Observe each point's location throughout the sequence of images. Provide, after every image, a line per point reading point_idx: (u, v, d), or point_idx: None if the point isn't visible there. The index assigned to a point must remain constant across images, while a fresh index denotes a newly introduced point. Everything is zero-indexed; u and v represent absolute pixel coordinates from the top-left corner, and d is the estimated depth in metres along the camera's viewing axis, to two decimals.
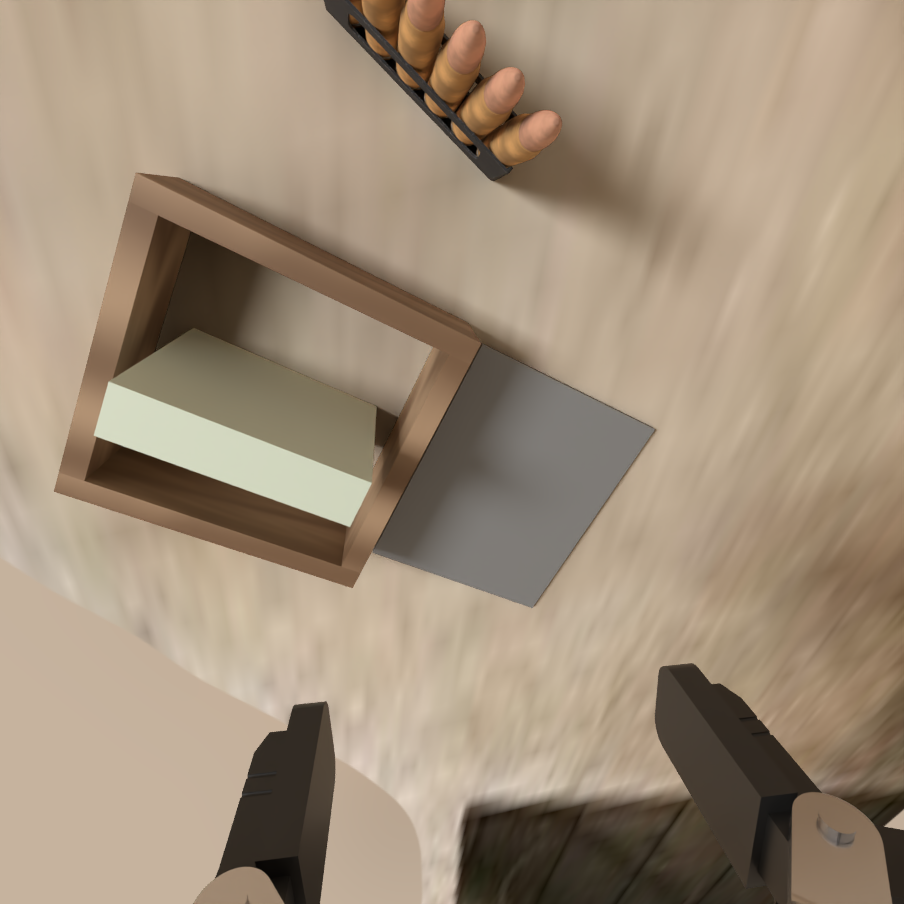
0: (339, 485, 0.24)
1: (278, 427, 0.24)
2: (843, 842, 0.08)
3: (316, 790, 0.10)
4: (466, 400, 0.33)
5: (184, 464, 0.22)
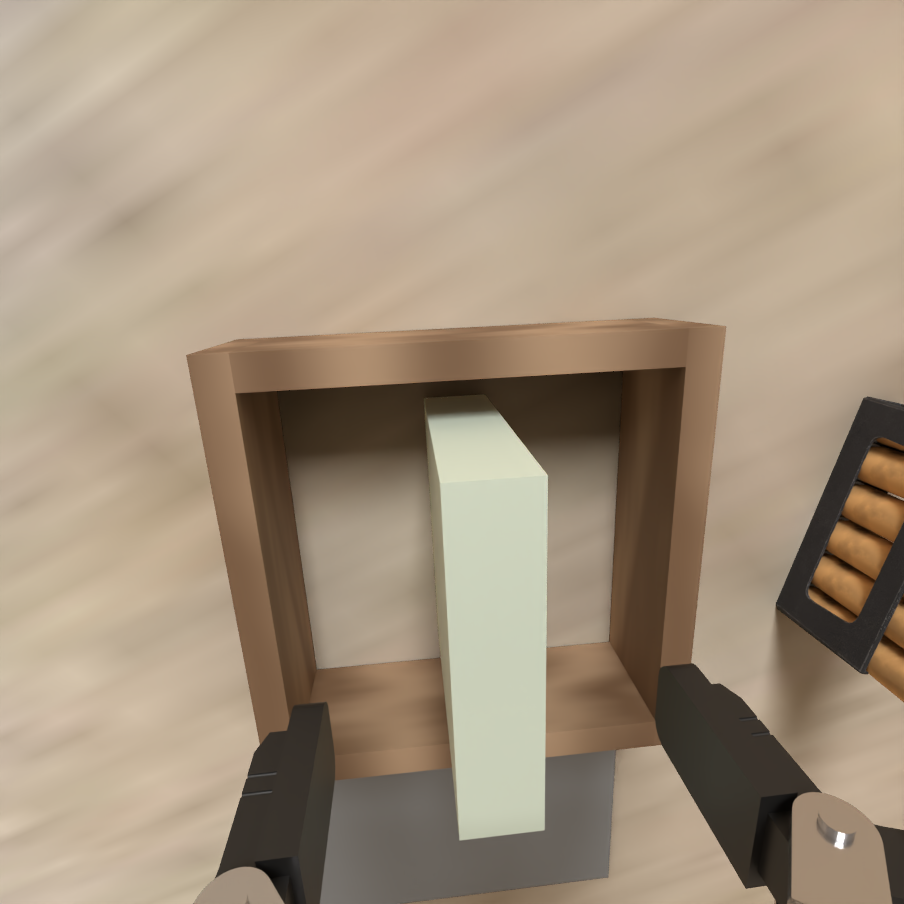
0: (521, 800, 0.15)
1: None
2: (843, 842, 0.08)
3: (316, 790, 0.10)
4: None
5: (454, 616, 0.13)
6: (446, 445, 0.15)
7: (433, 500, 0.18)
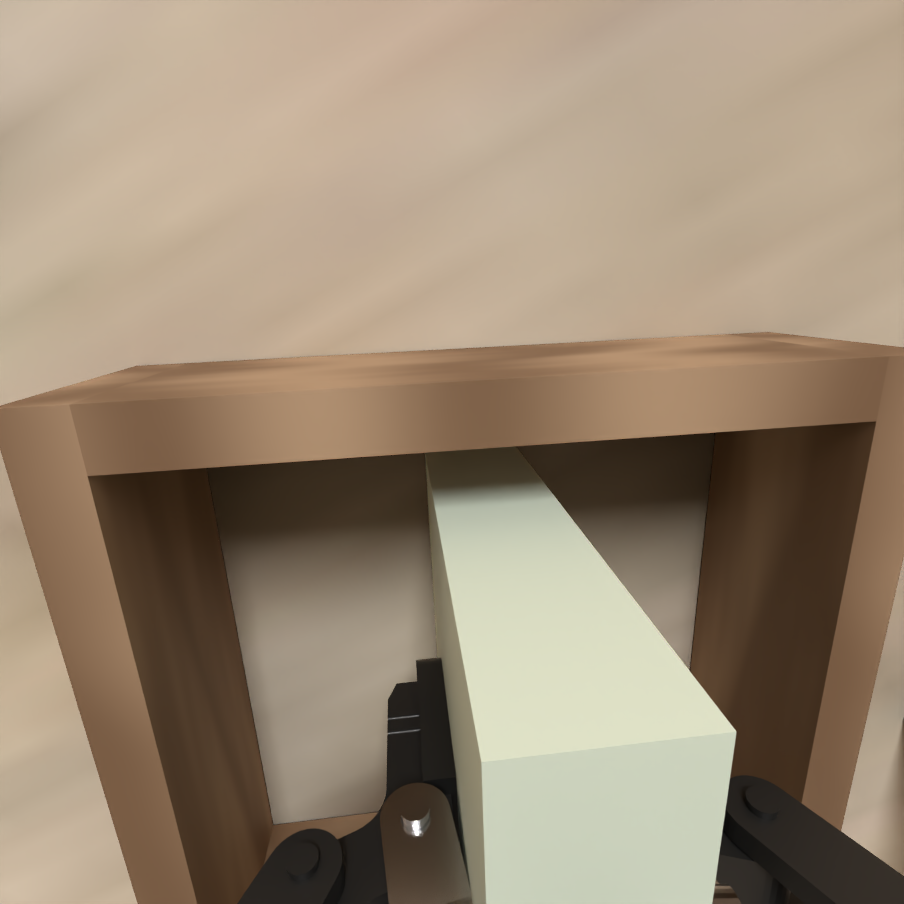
0: None
1: None
2: None
3: None
4: None
5: None
6: (475, 586, 0.08)
7: (444, 641, 0.11)
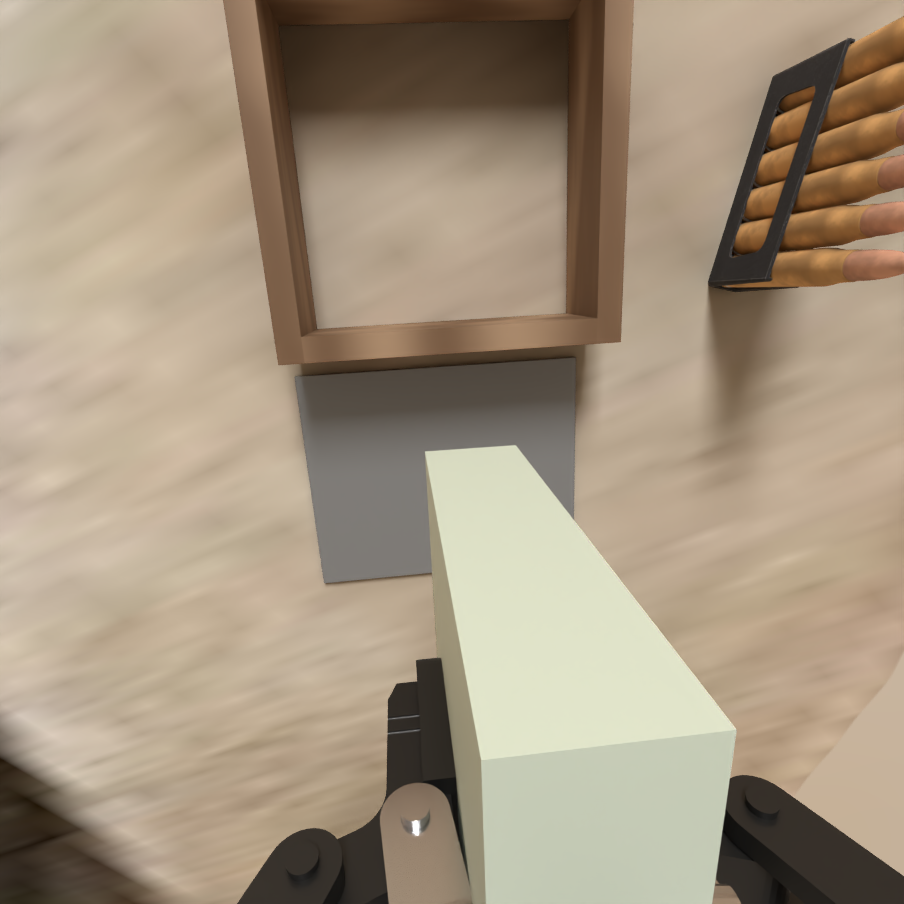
0: None
1: None
2: None
3: None
4: (516, 375, 0.31)
5: None
6: (475, 585, 0.08)
7: (444, 640, 0.11)
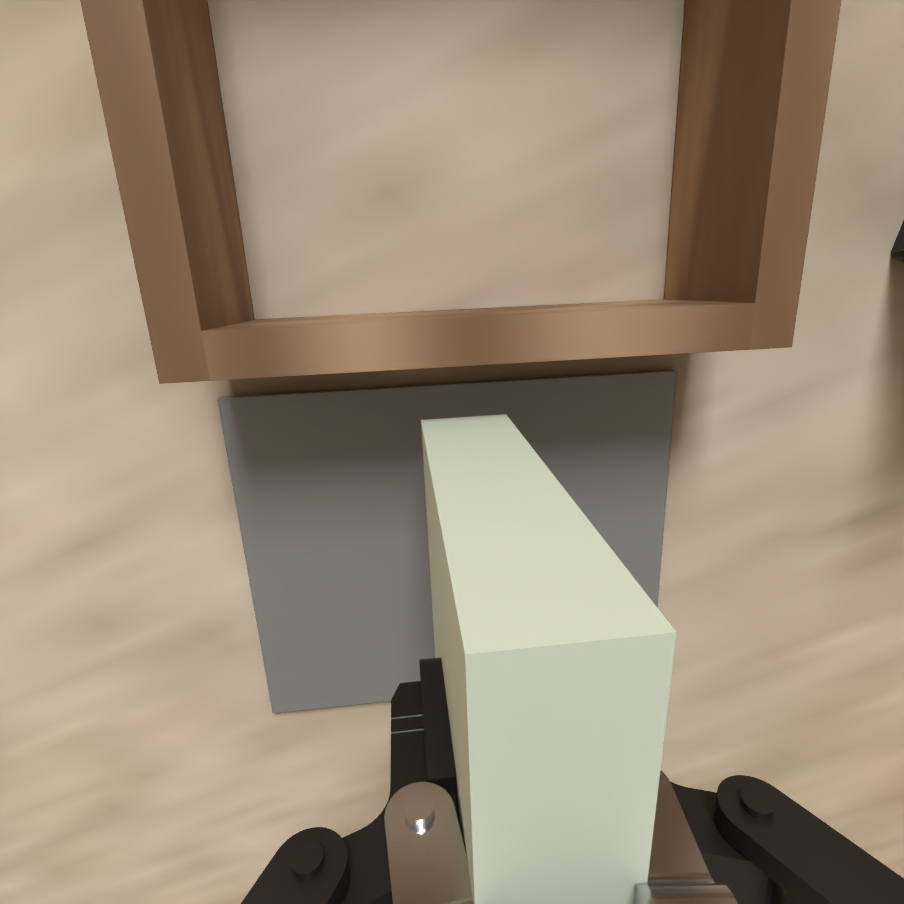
0: None
1: None
2: None
3: None
4: (581, 398, 0.19)
5: (486, 866, 0.07)
6: (464, 529, 0.09)
7: (438, 587, 0.12)
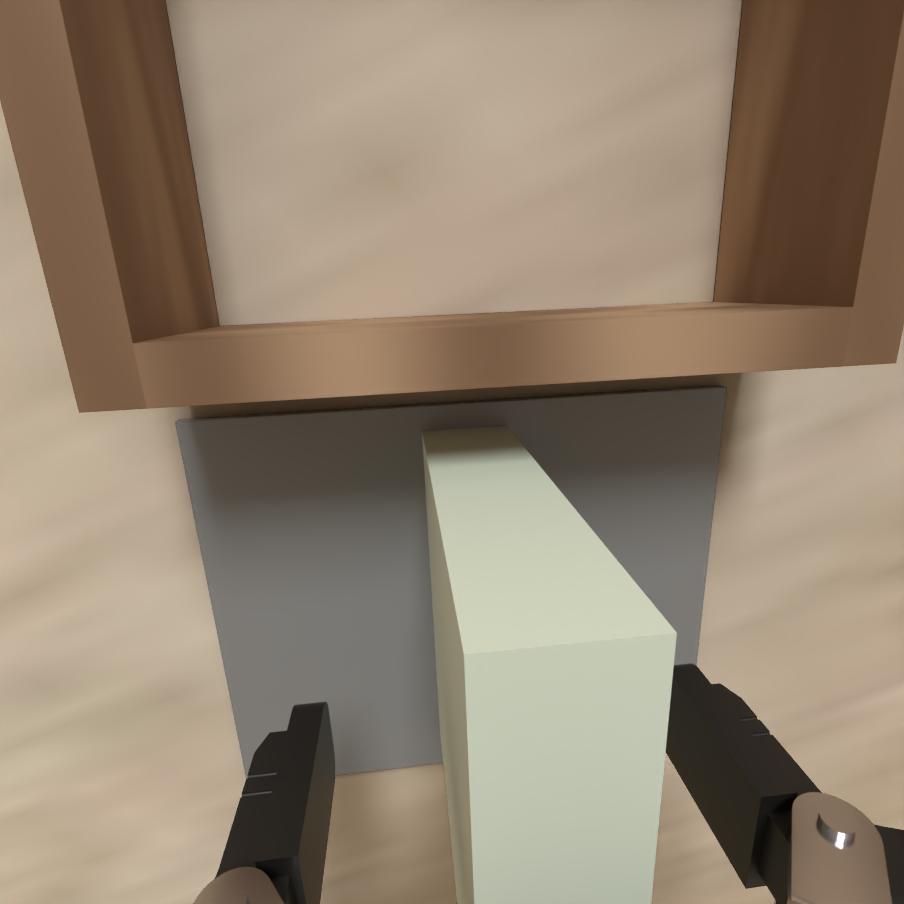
0: None
1: None
2: (843, 842, 0.08)
3: (316, 790, 0.10)
4: (613, 419, 0.16)
5: (486, 877, 0.07)
6: (464, 534, 0.09)
7: (438, 597, 0.12)
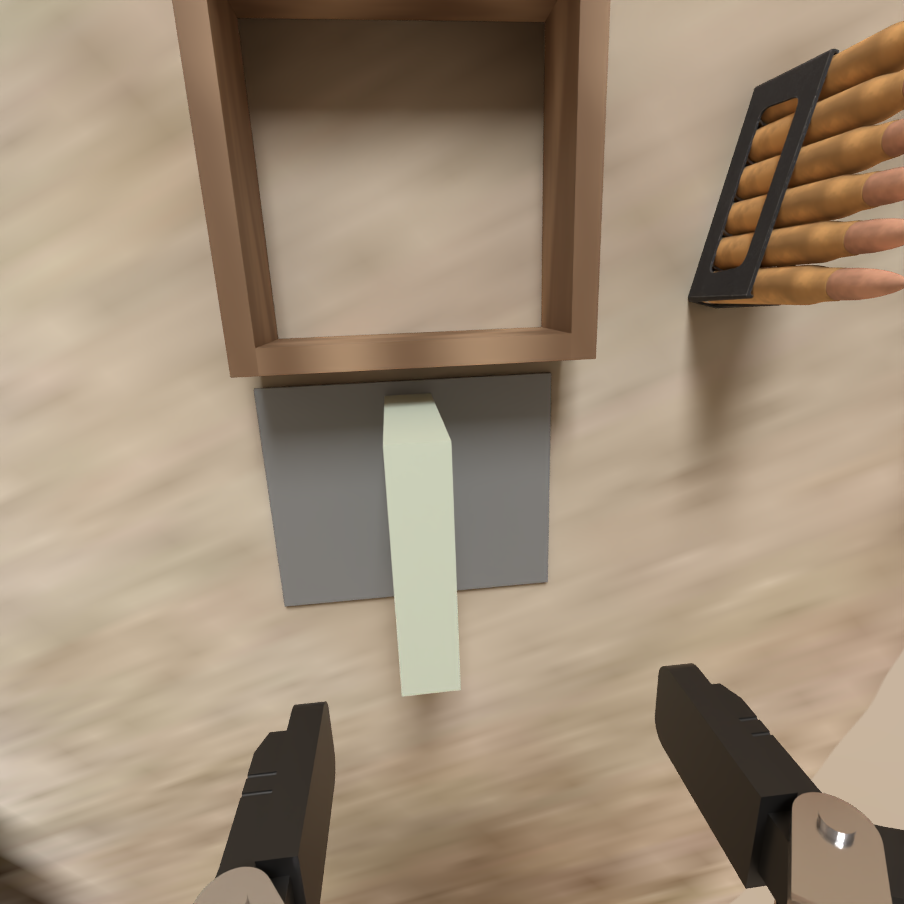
0: (443, 666, 0.22)
1: None
2: (844, 842, 0.08)
3: (316, 790, 0.10)
4: (489, 390, 0.29)
5: (394, 533, 0.20)
6: (392, 425, 0.22)
7: None
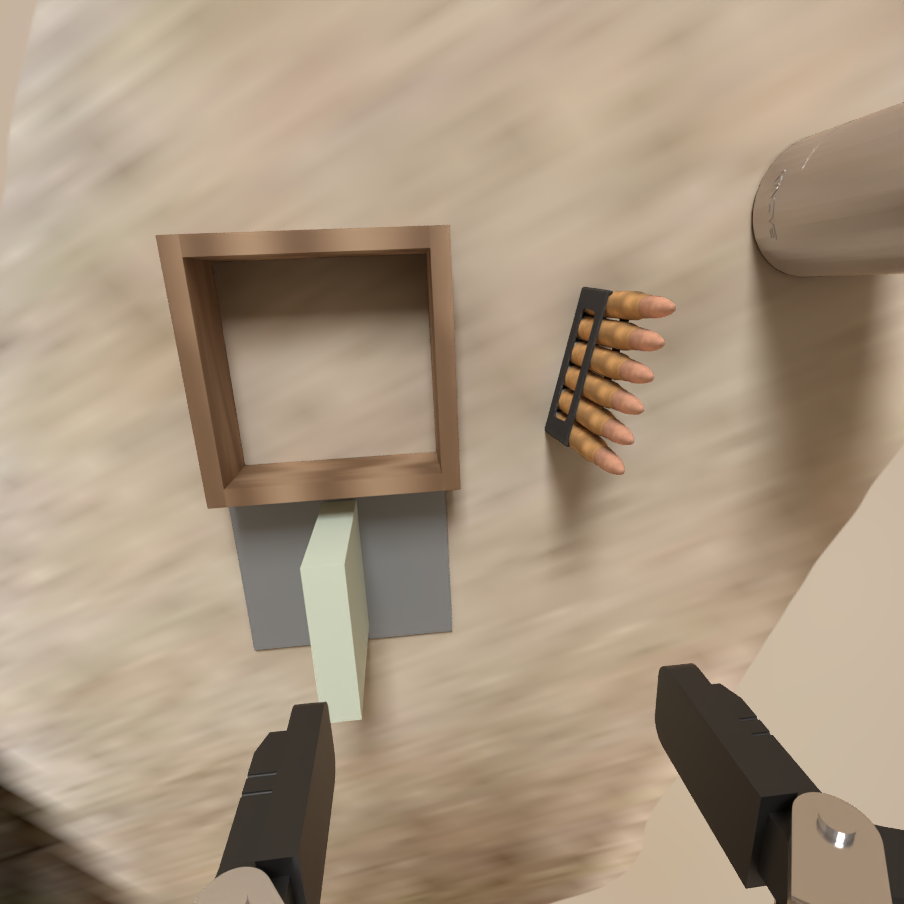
0: (349, 704, 0.34)
1: (356, 640, 0.34)
2: (843, 842, 0.08)
3: (316, 790, 0.10)
4: (399, 496, 0.41)
5: (310, 621, 0.32)
6: (314, 544, 0.33)
7: None
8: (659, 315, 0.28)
